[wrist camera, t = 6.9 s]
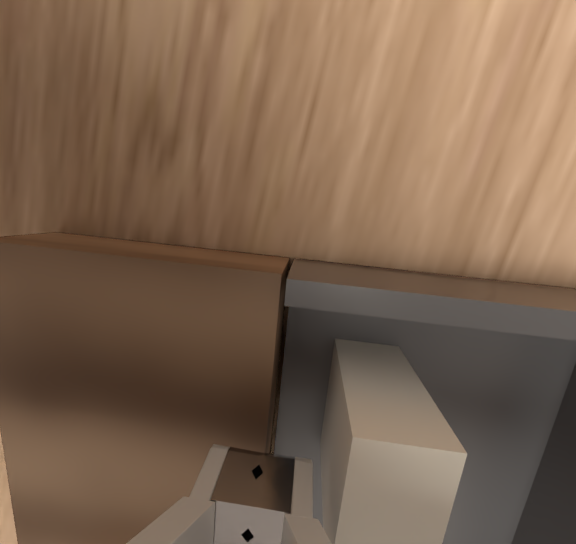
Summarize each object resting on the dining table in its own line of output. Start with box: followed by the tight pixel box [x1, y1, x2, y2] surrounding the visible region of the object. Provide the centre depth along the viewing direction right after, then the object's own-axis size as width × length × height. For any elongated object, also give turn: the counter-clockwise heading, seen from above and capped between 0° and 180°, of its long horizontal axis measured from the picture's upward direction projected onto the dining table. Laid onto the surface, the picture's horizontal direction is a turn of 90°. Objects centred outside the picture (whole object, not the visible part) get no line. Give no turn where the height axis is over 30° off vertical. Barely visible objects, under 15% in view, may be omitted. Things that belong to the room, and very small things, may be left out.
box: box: [274, 258, 576, 544], centre depth 12 cm, size 22×12×4 cm, turn 175°
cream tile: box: [320, 339, 467, 544], centre depth 9 cm, size 5×5×2 cm
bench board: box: [0, 232, 289, 544], centre depth 12 cm, size 22×10×3 cm, turn 175°
